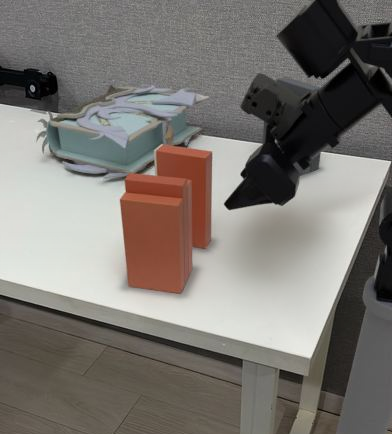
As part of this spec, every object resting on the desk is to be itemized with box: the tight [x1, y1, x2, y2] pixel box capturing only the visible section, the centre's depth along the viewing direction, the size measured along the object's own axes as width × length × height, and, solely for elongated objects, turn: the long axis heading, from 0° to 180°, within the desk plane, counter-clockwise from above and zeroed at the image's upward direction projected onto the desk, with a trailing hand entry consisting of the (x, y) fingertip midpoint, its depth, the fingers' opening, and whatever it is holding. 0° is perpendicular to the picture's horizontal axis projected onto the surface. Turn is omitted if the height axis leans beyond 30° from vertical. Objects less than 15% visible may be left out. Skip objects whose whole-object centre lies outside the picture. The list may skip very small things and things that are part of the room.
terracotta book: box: [153, 144, 213, 250], centre depth 76 cm, size 7×2×13 cm, turn 69°
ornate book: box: [35, 84, 209, 179], centre depth 103 cm, size 23×10×30 cm
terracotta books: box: [119, 173, 193, 295], centre depth 69 cm, size 7×6×14 cm
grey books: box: [261, 76, 322, 177], centre depth 95 cm, size 8×6×14 cm
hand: (234, 191), depth 73 cm, fingers open, 9 cm apart
